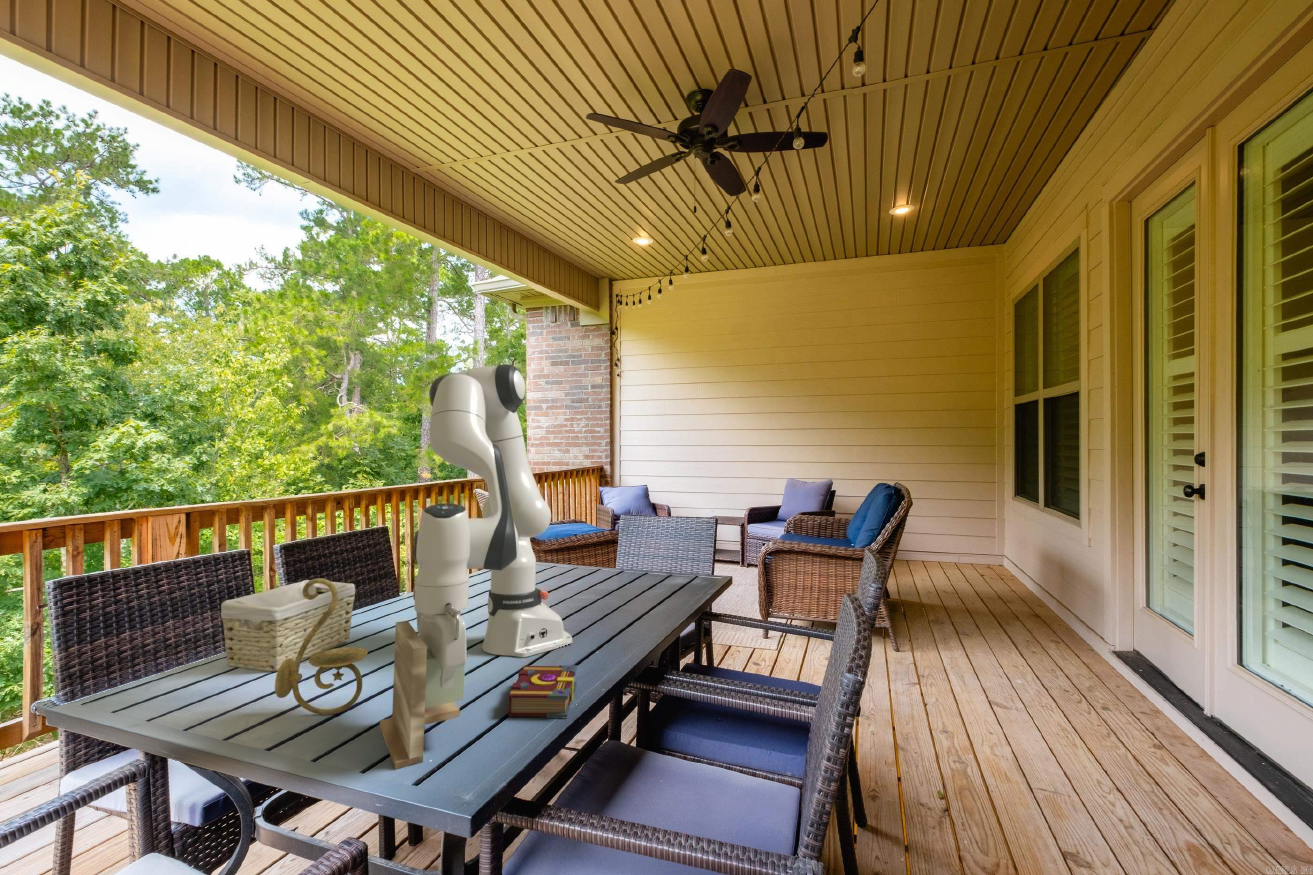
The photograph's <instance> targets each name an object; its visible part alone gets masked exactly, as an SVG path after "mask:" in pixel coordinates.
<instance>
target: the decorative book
mask: <svg viewBox="0 0 1313 875" xmlns="http://www.w3.org/2000/svg"><path fill="white" fill-rule="evenodd" d="M577 670H578V665H576V664H574V665H573V664H572V665H571V664H570V665H569V664H567V665H566V664H564V665H562V664H560V665H524V667H523V669H520V671H519V672H518V676H517V677H518V678H517V680H516V681H515V682H513V683H512V685H511V686H510V692H509V694H508V702H507V706H508V707H507V716H508V717H537V718H539V717H540V718H543V717H544V718H546V719H555V718H554V717H561V718H560V719H563V718H562V717H565V718H564V719H567V718H568V717H569V713H568V712H570V709H571V708H570V707H571V706H570V705H571V703H570V702H571V701H572V700H573V701H574V693H575V692H576V688H577V685H576V684H577V681H575V677H576V674H577ZM575 687H576V688H575ZM574 691H575V692H574ZM567 716H568V717H567ZM552 717H553V718H552ZM566 717H567V718H566Z"/></svg>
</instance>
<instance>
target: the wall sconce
mask: <svg viewBox="0 0 1313 875" xmlns="http://www.w3.org/2000/svg"><path fill="white" fill-rule="evenodd" d="M332 582H333V581H331V580H328V579H326V578H323V577H322V578H321V577H320V578H313V579H310V581H309V582H308V583H306V584H305V586H304V587H303V591H302V592H303V596H304V597H305V598H306V599H309V600H312V599H315V598H316V597H317V596H318V595H319V592H316V593H315V594H314V595H310V594H309V593H308V588H309V587H310V586H311V585H313V584H316V583H321V584H325V585H326V586H328V587H329V588H330V590H331V592H332V603H331V605H330V607H329V609H328V610H327V611H326V613H325V614H324V615H323V616H322V618H321V619H320V620H319V621H318V623H317V624H316V625H315V626H314V627H313V629H312V630H311V631H310V633H309V634H308V635H307V637H306V638H305V640H304V642H303V644H302V646H301V648H300V650H299V652H298V654H297V657H296V660H294V659H291V658H288V659H286V660H284V661H283V663H282V664H281V666H280V667H279V670H278V671H276V676H275V679H274V680H275V681H274V682H275V683H274V692H275V695H276V697H277V698H279V699H283V698H286V697H287V696H288V695H289V694H290V693H291V692H292V693H293V697H294V699H295V701H296V702H297V704H298V705H300V707H301V708H303V709H304V710H306V711H308V712H310V713H313V714H316V715H322V716H324V715H325V716H326V715H334V714H339V713H342V712H344V711H346V710H348V709H349V708H351V707H352V706H353V705H354V704H355V703H356V702H357V701H358V700H359V698H360V696H361V694H362V690H363V677H362V673H361V671H360V669H359V668H358V667H357V666H356V665H355V663H357V662H359V661H361V660H363V659H364V658H366V657H367V655H368V651H367V650H366V648H361V647H354V646H352V647H351V646H350V647H347V646H346V647H337V648H330V649H328V650H326V651H323V652H320V653H317V654H315V655H313V656H312V657H309V658H308V663H309V664H310V665H311V666H313V667H316V668H318V669H317V670H316V672H315V674H314V683H315V685H316V686H317V688H318V689H322V690H328V689H332V688H333V687H334V686H335V684H334V683H331V682H330V683H323V681H322V680H321V676H322V674H323V672H325V671H326V670H329V669H334V670H336V672H335V673H331V674H332V676H333V681H334V682H335V681H343V679H342V677H343V676H344V675H345V673H343V672H340V671H341V669H343V668H344V669H345V668H347V669H349V670H350V671H352V673H353V675H354V677H355V679H356V689H355V690H356V691H355V693H354V695H353V696H352V698H351V699H350V700H349V701H348V702H347V703H345V704H343V705H341V706H338V707H334V708H333V707H332V708H319V707H316V706H313V705H312V704H310V703H308V702H307V701H306V700H305V699H304V698H303V697H302V695H301V693H300V688H299V682H300V681H301V680H302V679H303V674H302V673H299V672H300V667H301V662H302V661H301V660H302V657H303V654H304V652H305V650H306V648H307V646H308V644H309V642H310V641H311V639H312V638H313V636H314V635H315V633H316V632H317V631H318V630H319V628H320V627H321V626H322V625H323V623H324V622H325V621H326V620H327V619H328V617H329V616H330V615H331V613H332V612H333V610H334V609H335V607H336V605H337V601H338V592H337V589H336V587H335V586H334V584H333V583H332Z"/></svg>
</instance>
